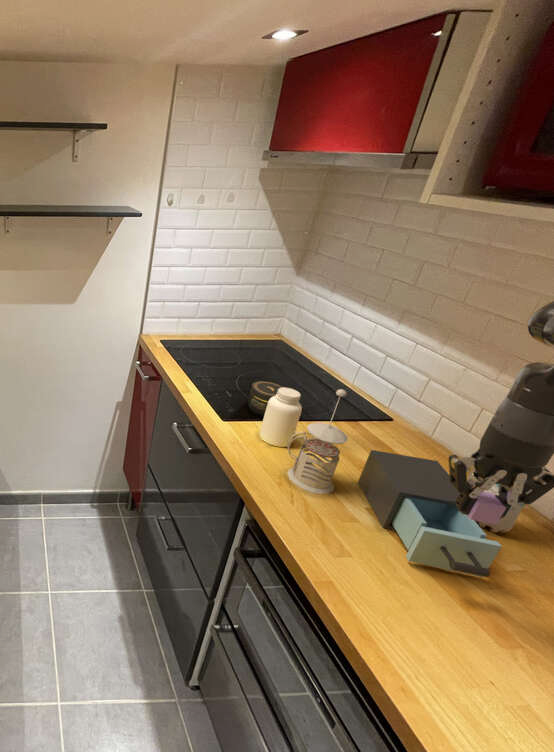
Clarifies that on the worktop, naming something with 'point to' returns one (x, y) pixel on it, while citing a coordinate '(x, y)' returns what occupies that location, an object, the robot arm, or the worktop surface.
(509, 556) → the worktop surface
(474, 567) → the light blue drawer
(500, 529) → the bottle
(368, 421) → the worktop surface
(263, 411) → the jar
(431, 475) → the drawer cabinet casing
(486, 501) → the block
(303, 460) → the french press
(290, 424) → the pill bottle
